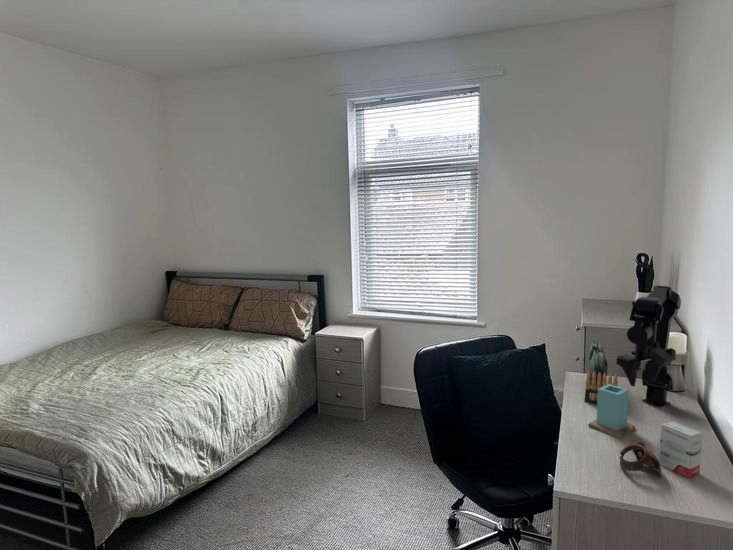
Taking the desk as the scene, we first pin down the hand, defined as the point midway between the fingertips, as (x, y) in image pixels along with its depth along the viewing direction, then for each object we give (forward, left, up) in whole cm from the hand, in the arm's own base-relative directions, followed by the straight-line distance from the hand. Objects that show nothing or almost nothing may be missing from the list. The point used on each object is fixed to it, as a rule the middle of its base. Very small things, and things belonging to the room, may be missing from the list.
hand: (642, 383), depth 157 cm
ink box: (+16, +24, -13) cm, 32 cm away
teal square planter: (+12, -1, -12) cm, 17 cm away
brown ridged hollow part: (+26, +20, -13) cm, 35 cm away
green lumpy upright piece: (-8, -25, -13) cm, 29 cm away
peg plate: (+12, -1, -13) cm, 18 cm away
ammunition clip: (0, -16, -13) cm, 21 cm away
